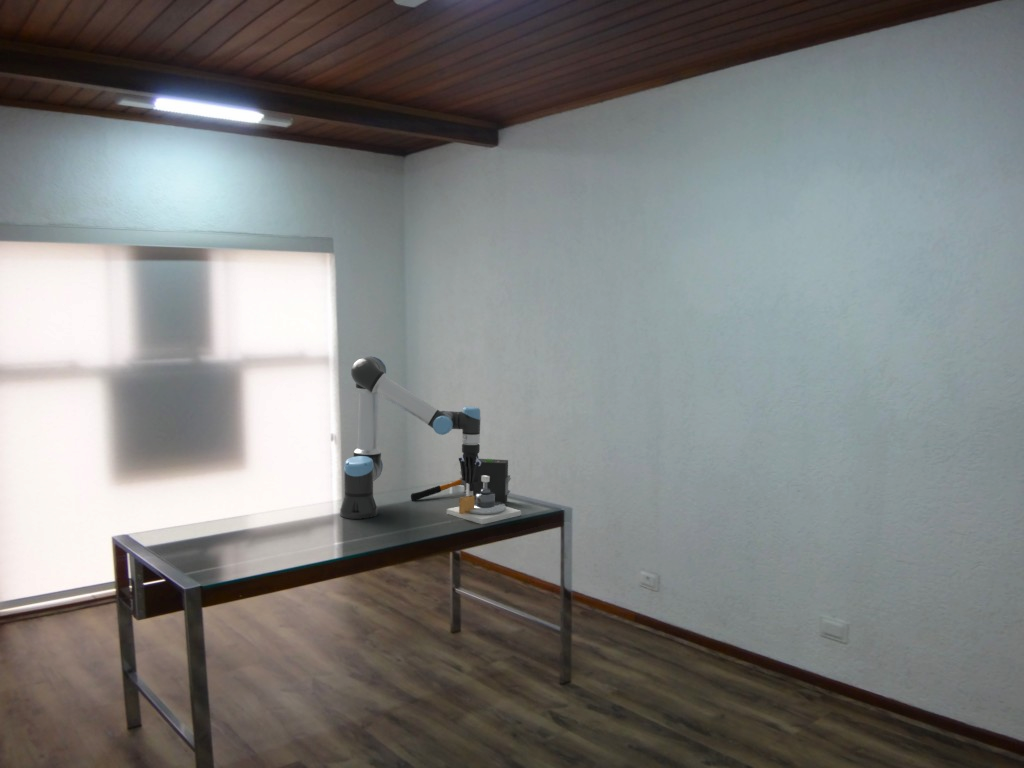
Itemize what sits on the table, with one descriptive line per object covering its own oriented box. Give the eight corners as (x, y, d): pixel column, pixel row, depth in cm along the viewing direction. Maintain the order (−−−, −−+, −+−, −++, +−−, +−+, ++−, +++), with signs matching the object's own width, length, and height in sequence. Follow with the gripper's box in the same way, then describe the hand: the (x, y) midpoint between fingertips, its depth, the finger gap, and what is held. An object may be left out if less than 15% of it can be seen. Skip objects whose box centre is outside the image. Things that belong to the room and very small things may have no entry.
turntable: (446, 509, 337) (446, 494, 336) (485, 501, 352) (485, 486, 351) (474, 518, 324) (475, 502, 323) (514, 509, 339) (514, 494, 339)
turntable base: (446, 513, 340) (447, 480, 338) (485, 505, 355) (485, 474, 354) (482, 524, 324) (482, 490, 323) (520, 515, 339) (521, 482, 338)
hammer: (412, 488, 358) (467, 471, 376) (408, 487, 361) (463, 469, 378) (415, 512, 360) (470, 493, 378) (411, 510, 363) (465, 491, 381)
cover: (471, 505, 339) (471, 489, 338) (485, 502, 344) (485, 486, 344) (484, 508, 333) (485, 492, 332) (498, 505, 339) (498, 489, 338)
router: (470, 499, 366) (471, 455, 364) (510, 501, 363) (511, 457, 362) (467, 503, 358) (468, 459, 356) (507, 505, 355) (508, 460, 354)
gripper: (454, 442, 345) (452, 496, 347) (474, 446, 336) (473, 502, 338) (467, 440, 350) (466, 494, 352) (487, 444, 341) (486, 499, 343)
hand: (469, 498), depth 345 cm, fingers closed
